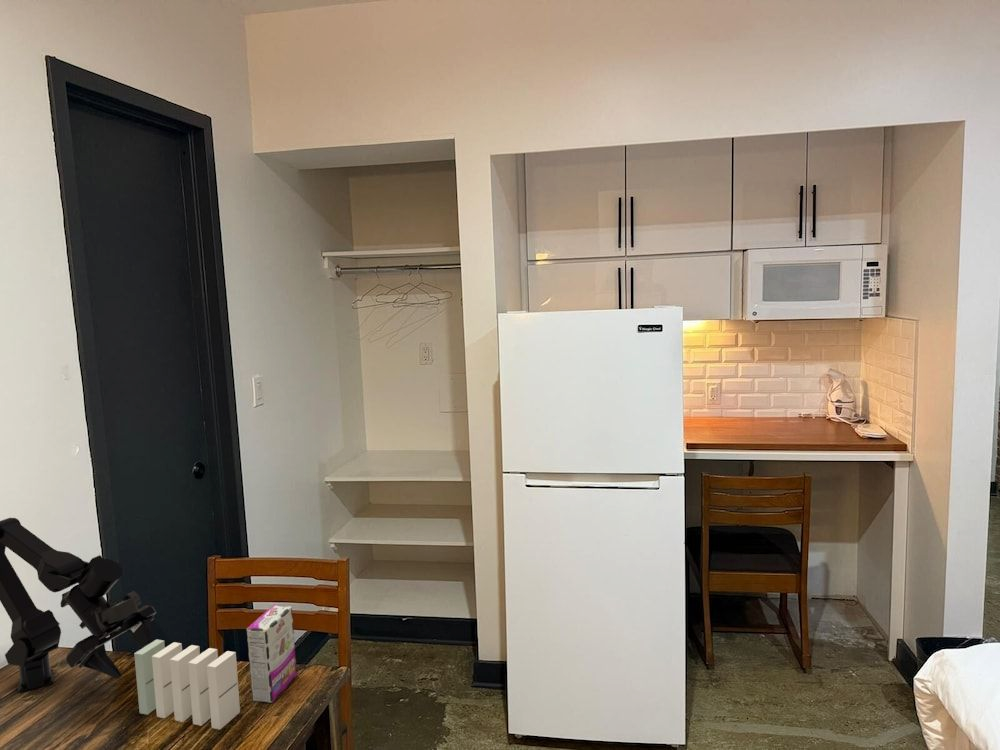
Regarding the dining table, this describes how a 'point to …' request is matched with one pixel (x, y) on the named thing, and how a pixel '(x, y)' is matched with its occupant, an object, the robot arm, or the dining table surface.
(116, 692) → the dining table surface
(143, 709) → the sage domino
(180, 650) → the ivory domino
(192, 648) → the ivory domino
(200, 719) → the ivory domino
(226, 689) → the ivory domino
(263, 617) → the candy bar box
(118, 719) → the dining table surface
